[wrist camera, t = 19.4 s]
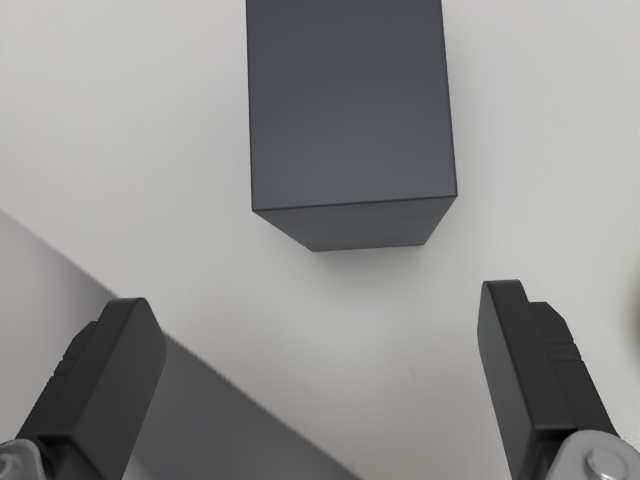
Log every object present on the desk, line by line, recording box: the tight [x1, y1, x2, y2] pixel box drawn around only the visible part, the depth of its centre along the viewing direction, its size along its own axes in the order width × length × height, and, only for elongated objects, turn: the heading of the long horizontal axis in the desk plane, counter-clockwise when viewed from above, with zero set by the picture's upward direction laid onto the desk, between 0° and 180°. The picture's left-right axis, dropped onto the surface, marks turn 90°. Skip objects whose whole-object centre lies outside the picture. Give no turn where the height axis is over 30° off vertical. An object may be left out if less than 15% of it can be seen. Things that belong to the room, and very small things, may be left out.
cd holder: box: [246, 0, 458, 252], centre depth 17 cm, size 10×5×10 cm, turn 3°
